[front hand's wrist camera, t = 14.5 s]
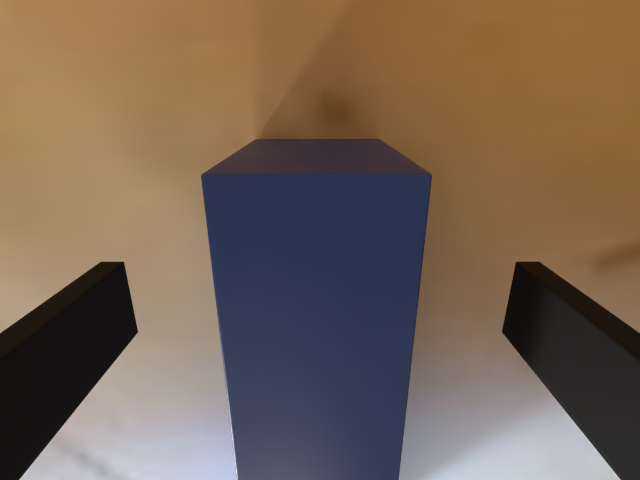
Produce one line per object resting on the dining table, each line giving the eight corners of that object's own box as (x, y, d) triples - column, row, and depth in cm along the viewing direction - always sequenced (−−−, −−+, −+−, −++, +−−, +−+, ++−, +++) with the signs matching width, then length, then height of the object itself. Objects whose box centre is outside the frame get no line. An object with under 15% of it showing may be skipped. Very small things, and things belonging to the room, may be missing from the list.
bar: (254, 139, 16) (199, 174, 8) (379, 139, 16) (433, 173, 8) (279, 521, 25) (262, 697, 17) (358, 520, 25) (375, 696, 17)
